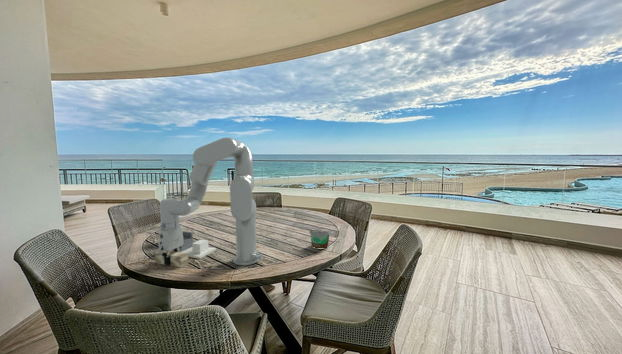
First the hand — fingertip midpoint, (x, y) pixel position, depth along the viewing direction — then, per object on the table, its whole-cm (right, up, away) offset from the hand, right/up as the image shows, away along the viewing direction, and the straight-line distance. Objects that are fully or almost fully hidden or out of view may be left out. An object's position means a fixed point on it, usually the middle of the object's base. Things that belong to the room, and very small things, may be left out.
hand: (171, 262), depth 111 cm
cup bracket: (+2, +1, +14) cm, 14 cm away
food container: (+71, 0, +19) cm, 74 cm away
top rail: (0, -1, 0) cm, 1 cm away
